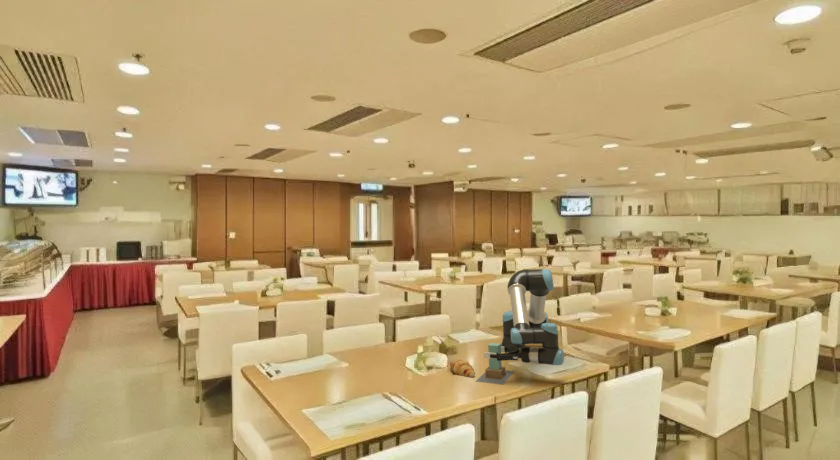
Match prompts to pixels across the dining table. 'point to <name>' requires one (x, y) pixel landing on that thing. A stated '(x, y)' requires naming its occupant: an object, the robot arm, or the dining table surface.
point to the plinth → (495, 373)
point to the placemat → (495, 381)
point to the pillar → (493, 362)
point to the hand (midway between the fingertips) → (488, 351)
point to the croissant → (462, 368)
